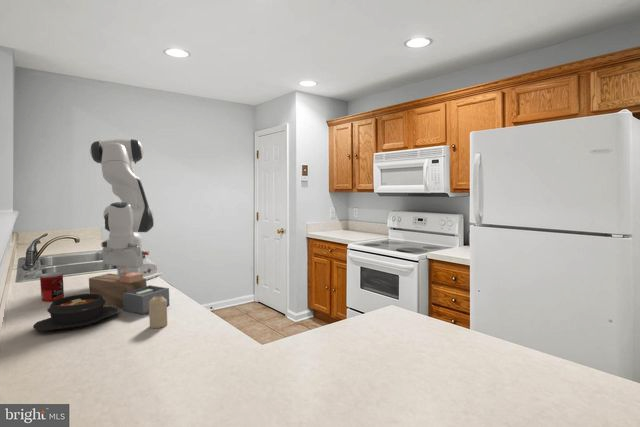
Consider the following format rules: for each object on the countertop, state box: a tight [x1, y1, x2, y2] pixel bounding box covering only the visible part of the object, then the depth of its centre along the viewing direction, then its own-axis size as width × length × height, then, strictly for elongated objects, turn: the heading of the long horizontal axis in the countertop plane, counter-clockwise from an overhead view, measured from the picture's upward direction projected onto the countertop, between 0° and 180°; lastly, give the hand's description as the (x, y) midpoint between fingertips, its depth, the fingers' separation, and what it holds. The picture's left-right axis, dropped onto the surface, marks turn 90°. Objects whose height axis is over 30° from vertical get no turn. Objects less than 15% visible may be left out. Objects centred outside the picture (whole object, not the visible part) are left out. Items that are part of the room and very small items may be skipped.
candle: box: [148, 296, 168, 329], centre depth 125 cm, size 6×6×10 cm
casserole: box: [32, 293, 119, 332], centre depth 128 cm, size 25×19×8 cm
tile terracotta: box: [119, 272, 143, 283], centre depth 146 cm, size 6×6×2 cm
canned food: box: [39, 271, 65, 303], centre depth 156 cm, size 8×8×11 cm
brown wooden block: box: [88, 273, 147, 310], centre depth 151 cm, size 9×23×10 cm, turn 64°
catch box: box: [123, 284, 170, 316], centre depth 143 cm, size 12×11×7 cm
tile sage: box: [136, 289, 153, 295], centre depth 144 cm, size 6×6×2 cm
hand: (123, 277), depth 148 cm, fingers closed
